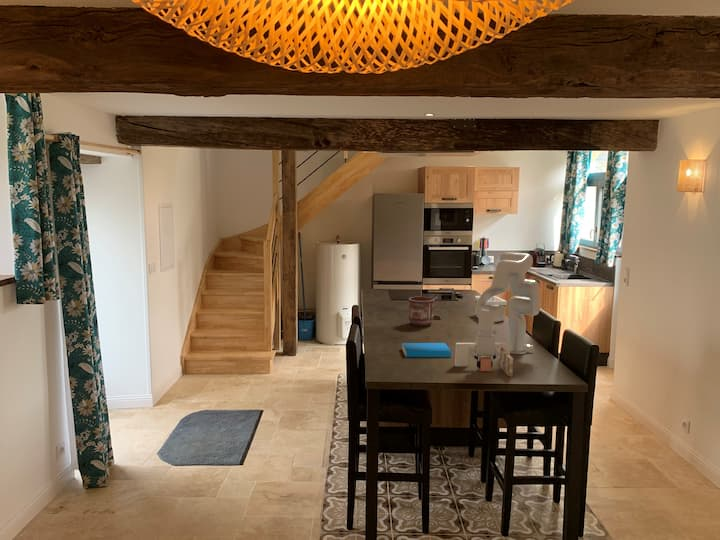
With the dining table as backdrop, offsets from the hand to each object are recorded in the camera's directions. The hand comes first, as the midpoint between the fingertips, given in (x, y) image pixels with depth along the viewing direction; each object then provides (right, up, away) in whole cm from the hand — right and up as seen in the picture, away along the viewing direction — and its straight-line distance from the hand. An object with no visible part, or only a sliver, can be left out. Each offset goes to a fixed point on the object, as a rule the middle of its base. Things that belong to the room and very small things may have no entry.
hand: (484, 367), depth 293 cm
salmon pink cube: (0, -1, 0) cm, 1 cm away
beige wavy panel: (+10, -2, -1) cm, 11 cm away
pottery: (-22, +12, +100) cm, 103 cm away
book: (-26, +2, +31) cm, 41 cm away
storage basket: (+30, +15, +123) cm, 128 cm away
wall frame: (+1, 0, +9) cm, 9 cm away
